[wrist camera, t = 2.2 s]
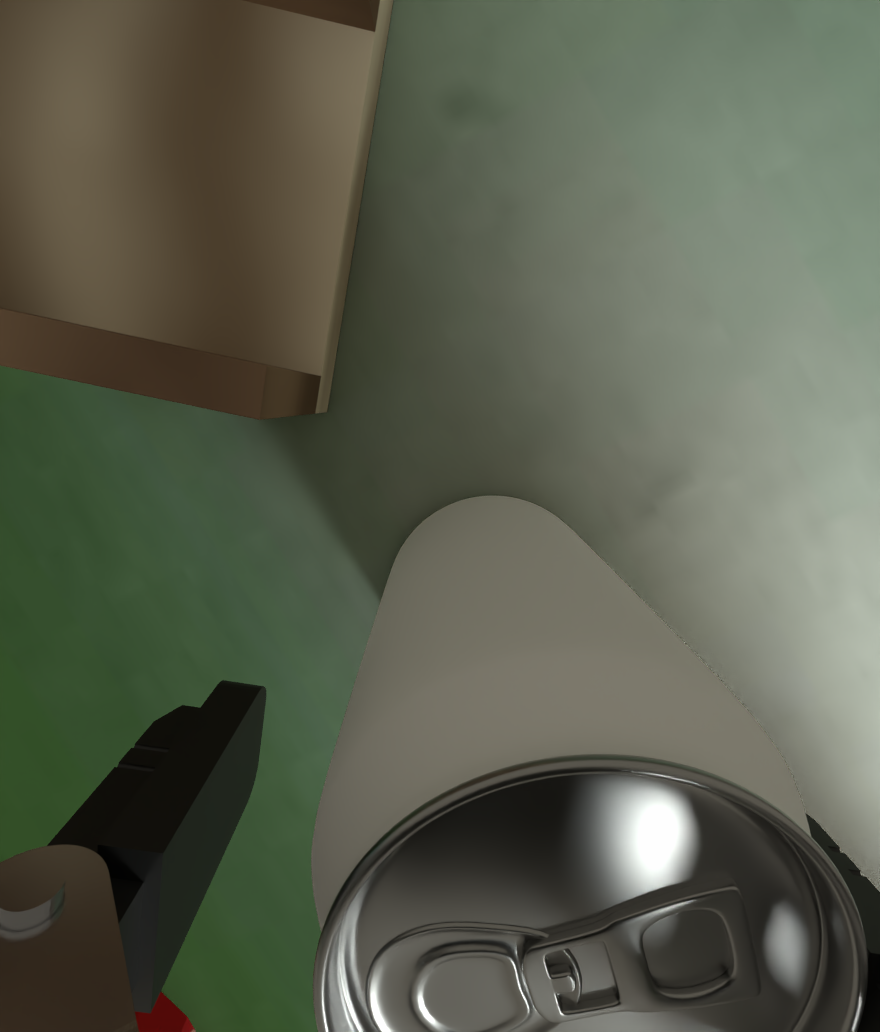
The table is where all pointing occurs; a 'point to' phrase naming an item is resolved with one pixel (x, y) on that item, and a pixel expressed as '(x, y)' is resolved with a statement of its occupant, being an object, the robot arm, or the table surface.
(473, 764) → the can
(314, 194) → the rack
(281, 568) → the table surface
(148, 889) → the robot arm
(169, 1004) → the kitchen timer
